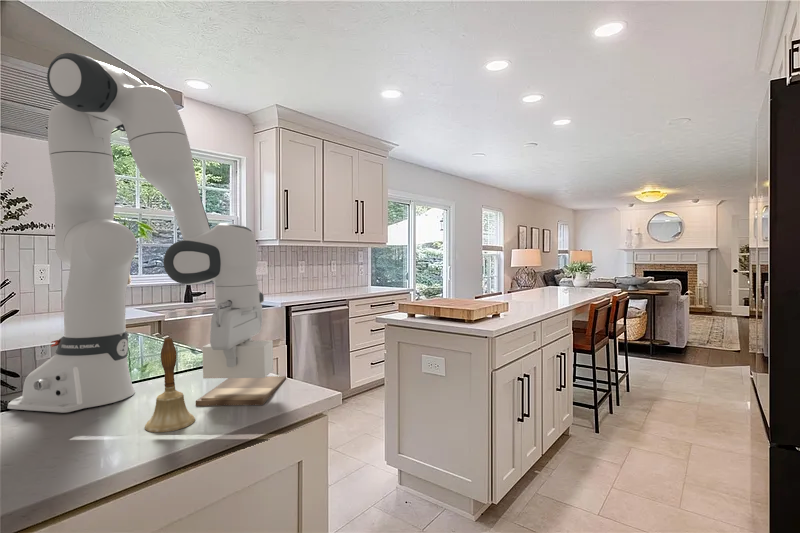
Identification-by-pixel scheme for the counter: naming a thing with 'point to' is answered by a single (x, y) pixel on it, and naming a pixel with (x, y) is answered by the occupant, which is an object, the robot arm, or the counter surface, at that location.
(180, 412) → the hand bell
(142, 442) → the counter surface
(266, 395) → the board
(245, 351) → the lid
